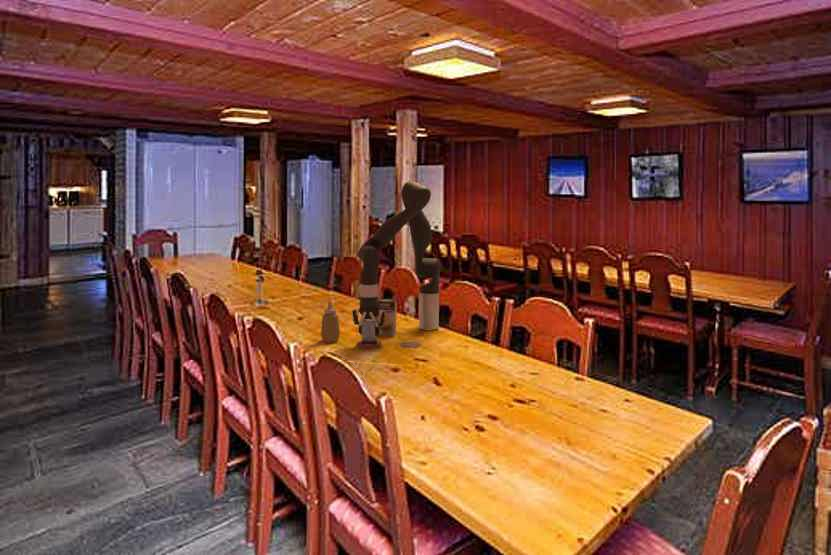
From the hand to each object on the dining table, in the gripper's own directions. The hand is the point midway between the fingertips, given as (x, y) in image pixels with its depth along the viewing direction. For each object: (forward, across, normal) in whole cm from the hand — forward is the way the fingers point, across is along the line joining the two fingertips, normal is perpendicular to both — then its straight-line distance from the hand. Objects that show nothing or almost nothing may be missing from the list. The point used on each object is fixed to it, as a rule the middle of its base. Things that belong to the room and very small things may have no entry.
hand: (369, 334), depth 228 cm
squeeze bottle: (+6, -18, +4) cm, 19 cm away
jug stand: (+5, 0, 0) cm, 5 cm away
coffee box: (+6, +2, +21) cm, 22 cm away
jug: (+2, 0, -3) cm, 3 cm away
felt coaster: (+5, +16, +6) cm, 18 cm away
